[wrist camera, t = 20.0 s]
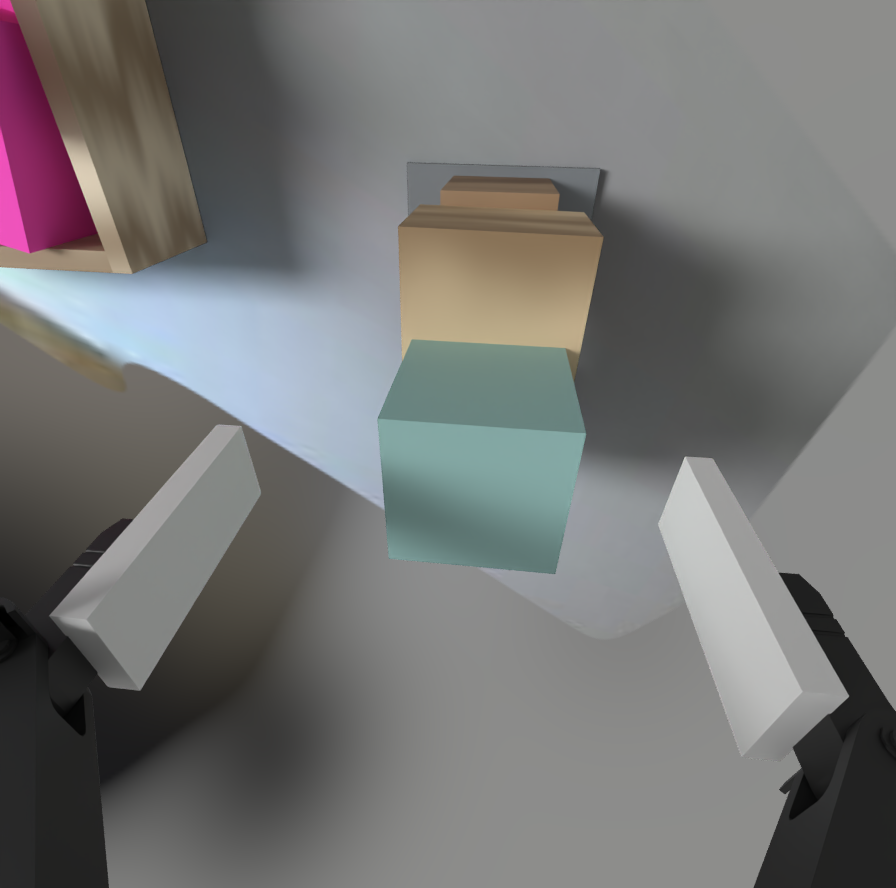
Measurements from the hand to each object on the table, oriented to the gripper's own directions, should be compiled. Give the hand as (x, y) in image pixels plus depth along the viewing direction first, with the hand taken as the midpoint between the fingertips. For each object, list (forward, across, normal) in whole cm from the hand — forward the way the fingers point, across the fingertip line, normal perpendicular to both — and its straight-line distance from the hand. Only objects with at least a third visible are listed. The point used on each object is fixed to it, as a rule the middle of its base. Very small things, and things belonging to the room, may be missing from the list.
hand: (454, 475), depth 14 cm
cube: (+6, +1, -1) cm, 6 cm away
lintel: (+11, +1, -2) cm, 11 cm away
